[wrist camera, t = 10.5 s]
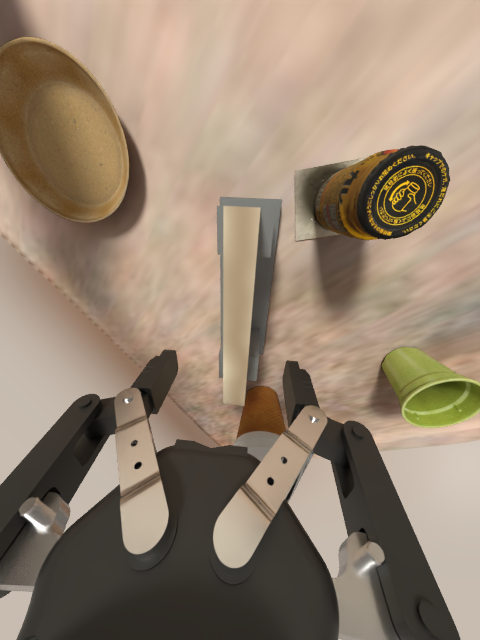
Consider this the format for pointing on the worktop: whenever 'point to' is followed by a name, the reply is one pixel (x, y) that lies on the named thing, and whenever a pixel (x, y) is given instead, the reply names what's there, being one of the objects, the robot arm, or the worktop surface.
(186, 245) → the worktop surface
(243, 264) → the ash bar
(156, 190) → the worktop surface
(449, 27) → the worktop surface
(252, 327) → the display stand
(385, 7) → the worktop surface
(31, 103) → the plant saucer
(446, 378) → the plant pot
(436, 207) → the condiment
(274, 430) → the disposable coffee cup
